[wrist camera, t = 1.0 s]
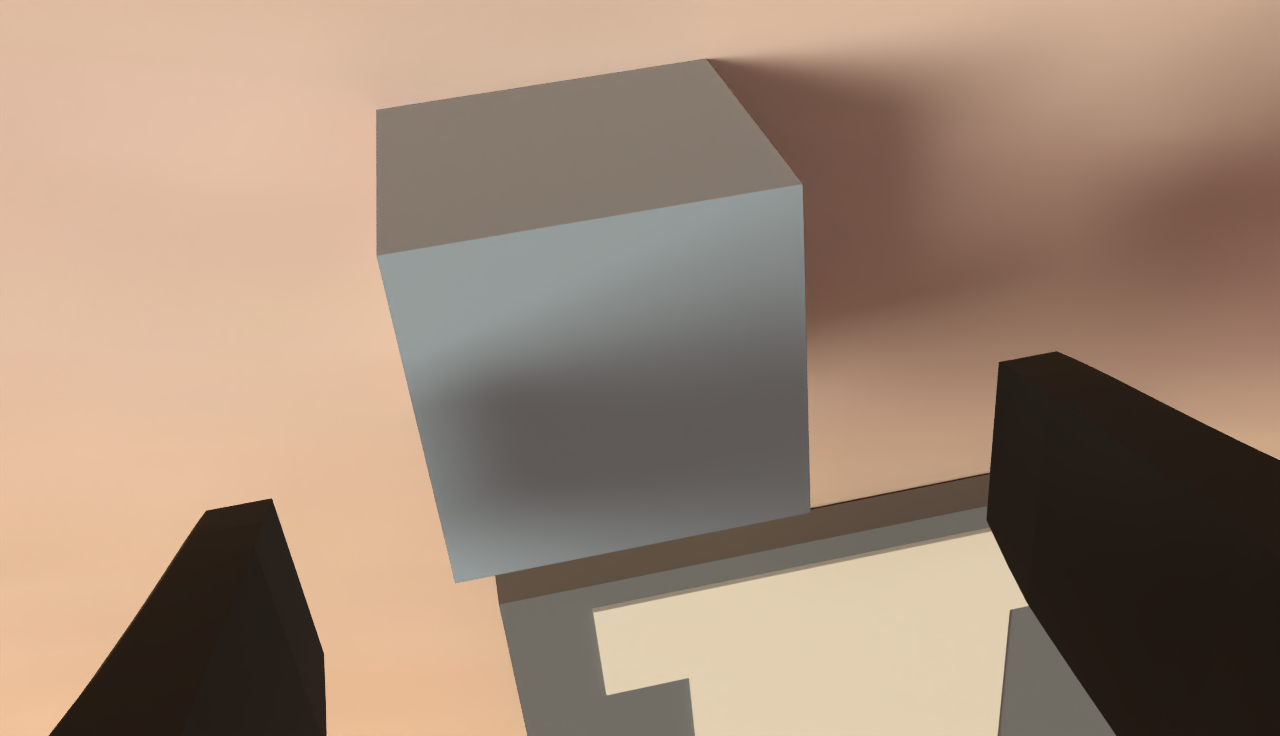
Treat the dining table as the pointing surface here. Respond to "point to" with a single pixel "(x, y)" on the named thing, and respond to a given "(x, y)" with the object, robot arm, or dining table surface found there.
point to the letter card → (796, 631)
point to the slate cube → (596, 313)
